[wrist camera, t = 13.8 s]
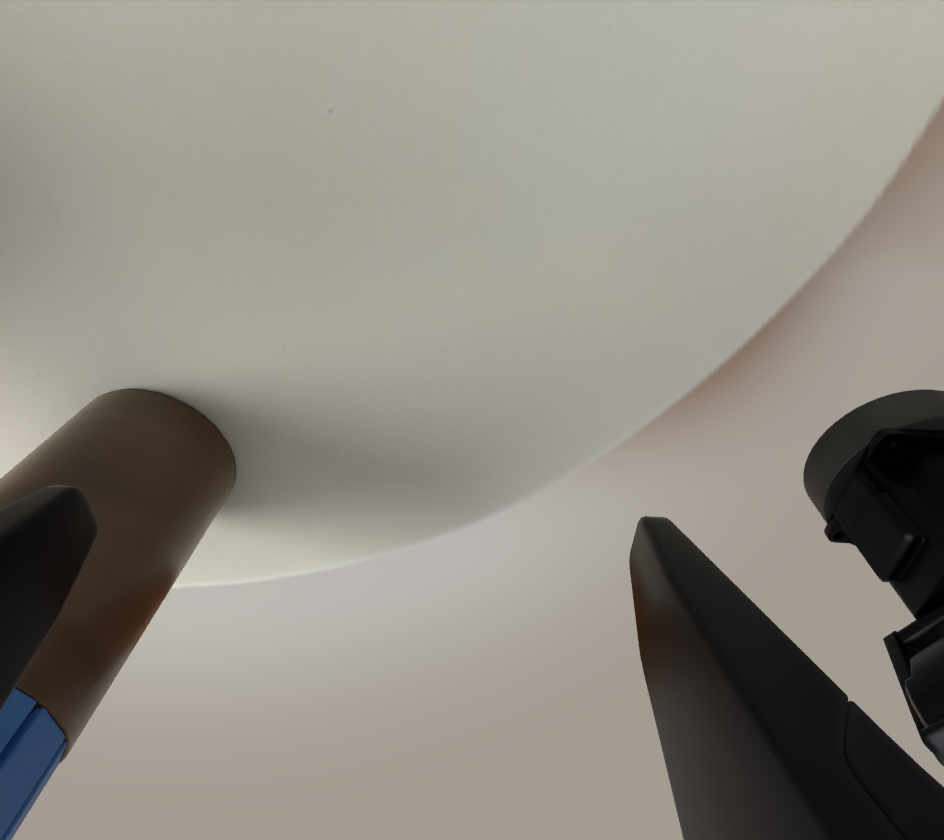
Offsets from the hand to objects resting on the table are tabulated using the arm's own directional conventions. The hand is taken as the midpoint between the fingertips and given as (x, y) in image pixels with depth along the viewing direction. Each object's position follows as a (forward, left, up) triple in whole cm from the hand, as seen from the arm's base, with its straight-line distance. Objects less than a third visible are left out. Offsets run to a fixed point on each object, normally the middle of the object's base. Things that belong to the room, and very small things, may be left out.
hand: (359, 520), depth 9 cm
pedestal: (+12, +8, -12) cm, 19 cm away
